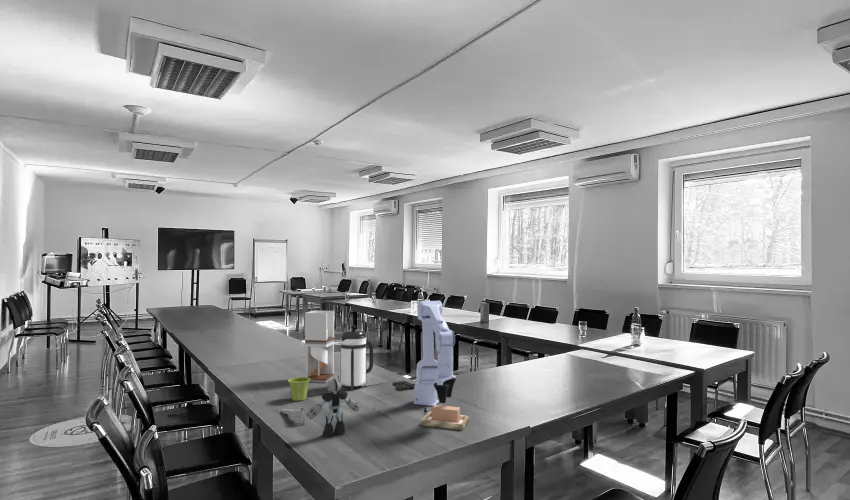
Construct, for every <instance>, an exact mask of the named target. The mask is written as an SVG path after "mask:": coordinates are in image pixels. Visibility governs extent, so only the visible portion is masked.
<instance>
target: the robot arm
mask: <svg viewBox="0 0 850 500" xmlns="http://www.w3.org/2000/svg"><path fill="white" fill-rule="evenodd" d="M442 313H443V303H442V302H441V300H423V301H422V300H419V301H418V302H417V320H419V321H421V325H422V327H421V329H422V331H421V332H422V359H421V360H419V361H418V362H417V364H416V370H415V371H416V372H415V376H416V381H415V382H414V384H415V386H414V388H413V405H421V406H430V407H433V406H434V405H438V403H440V404H446V401H447V398H451V397H452V394H453V391H454V390H453V389H454V386H455V383H456V381H457V375H454V372H453V371H454V370H453V369H454V360H453V359H454V355H453V354H454V348H453V347H455V344H456V336H455V335H456V334H455V332H454V330H452V329H450V328H449V326H448V324H447V322H446V320H445V319H443V318H442ZM434 335H435V345H436V351H437V360H436V359H435V355H434V353H435V351H434V350H435V349H434Z"/></svg>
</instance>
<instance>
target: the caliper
mask: <svg viewBox="0 0 850 500" xmlns="http://www.w3.org/2000/svg"><path fill="white" fill-rule="evenodd" d="M280 412H281V413H282V414H286V415H292V416H294V418H297V419H298V424H299V425H301V426H302V425H305V424H306V422H305V421H306V420H305V419H306V417H305V410H304V407H302V406H301V407H298V409H287V408H282V409H281V410H280Z"/></svg>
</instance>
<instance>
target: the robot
mask: <svg viewBox="0 0 850 500" xmlns="http://www.w3.org/2000/svg"><path fill="white" fill-rule="evenodd" d="M342 387H343V385H342V383H341V382H340V375H337V379H335V378H333V379H331V380H330V381H329V378H328V382H327V385H326V388H327V389H326V390H328V392H326V393H323V394H322V395H321V399H322V400H323V401H322V402H320V403H316V404H314V405H313V406H312V407H311V408H309V410H308V411H307V412H306V417H307V418H308V419H309V420H313V419H315V417H317V416H318V415H319V413H321V411H322V409H323V406H324V405H325V404H326V403H328V409H329V411H328V416H327V415H325V425H324V428H323V430H322V435H321V436H322V437H323V438H332V437H334V436H335V435H336V436H342V435H345V434H346V428H345V427H346V426H345V423H344V420H343V419H344V418H343V416H344V414H343V411H342V412H341V409H340V408H341V403H342V401H344V402H345V403H346V405H347V407H348V408H349V409H350V410H351V411H354V412H358V411H359V410H360V409H361V405H360V404H359V403H358V402H357V401H356V399H355V400H354V399H352V398H347V397H348V392H347V391H346V390H341V389H342ZM333 414H335V415H333ZM334 417H335V419H336V422H335V427H334V428H333V424H332V422H333V419H334Z"/></svg>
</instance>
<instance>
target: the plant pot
mask: <svg viewBox="0 0 850 500" xmlns="http://www.w3.org/2000/svg"><path fill="white" fill-rule="evenodd" d="M309 380H310V378H307V377H306V376H304V377H303V376H301V377H300V376H298V377H297V376H296V377H292V378H290V379H288V380H287V382H288V383H289V388H290V394H291V395H290V396H291V400H292V401H294V402H299V401H305V400H306V399H307V396H308V395H307V394H308V387H309V383H310V382H309Z"/></svg>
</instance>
